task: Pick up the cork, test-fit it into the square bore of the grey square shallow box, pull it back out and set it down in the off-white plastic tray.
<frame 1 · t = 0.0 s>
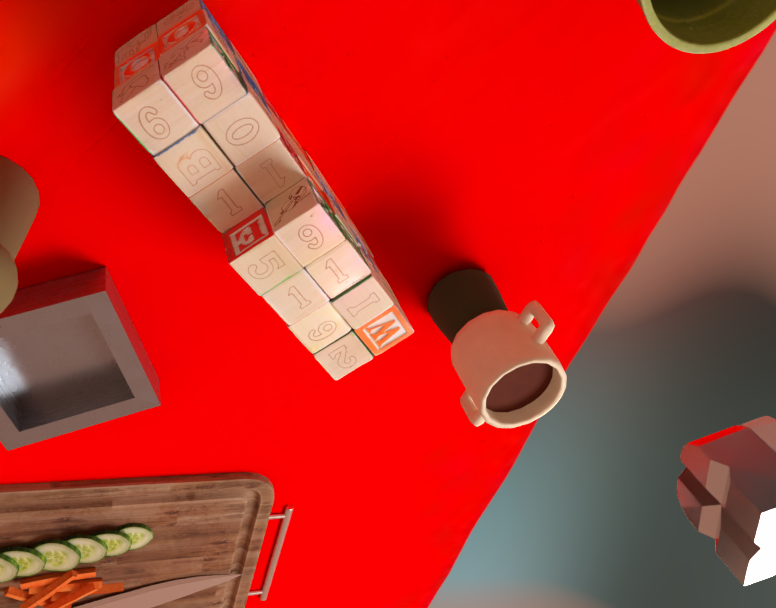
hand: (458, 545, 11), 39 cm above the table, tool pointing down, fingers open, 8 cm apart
grey square shallow box: (56, 348, 52), on the table
character mug: (457, 292, 61), on the table
stack of blocks: (255, 156, 48), on the table
chopping board: (51, 569, 68), on the table
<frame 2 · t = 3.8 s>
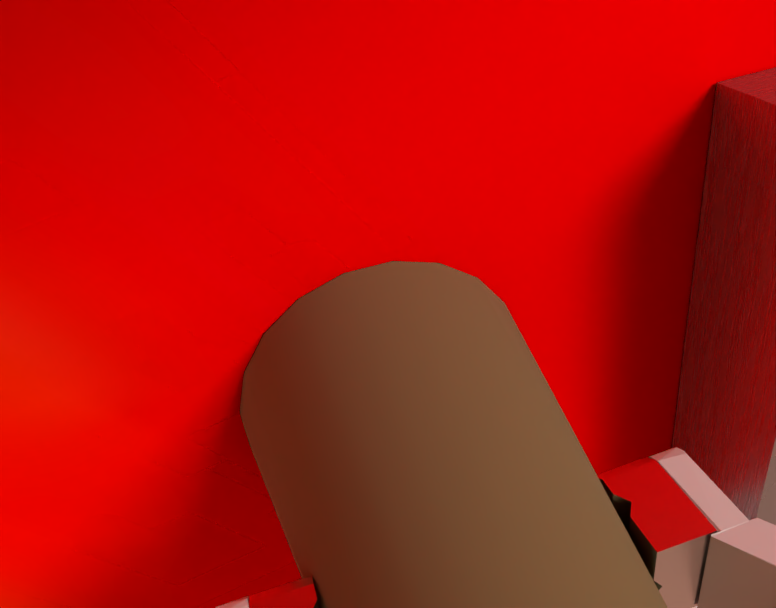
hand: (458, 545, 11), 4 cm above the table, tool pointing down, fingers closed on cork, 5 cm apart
cork: (383, 383, 15), on the table, touching gripper
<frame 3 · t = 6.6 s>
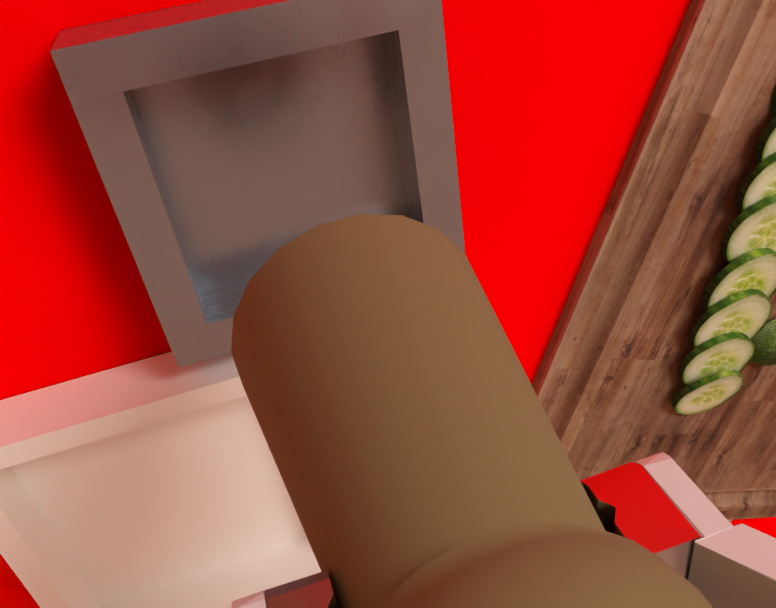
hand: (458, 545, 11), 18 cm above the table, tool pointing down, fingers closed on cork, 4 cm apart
tray: (183, 477, 33), on the table
grey square shallow box: (281, 158, 26), on the table
cork: (359, 327, 17), point 12 cm above the table, touching gripper
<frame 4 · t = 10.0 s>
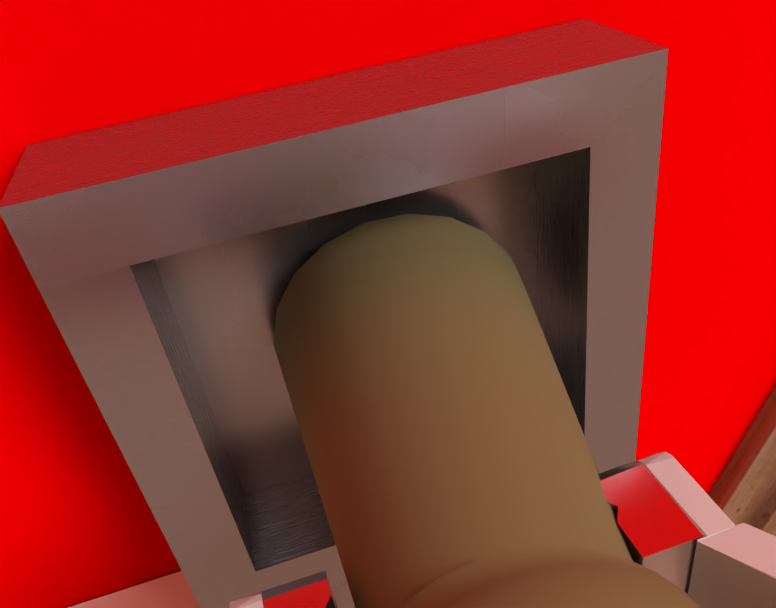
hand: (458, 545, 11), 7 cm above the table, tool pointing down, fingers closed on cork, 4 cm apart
grey square shallow box: (368, 311, 17), on the table
cork: (401, 325, 16), point 1 cm above the table, touching gripper
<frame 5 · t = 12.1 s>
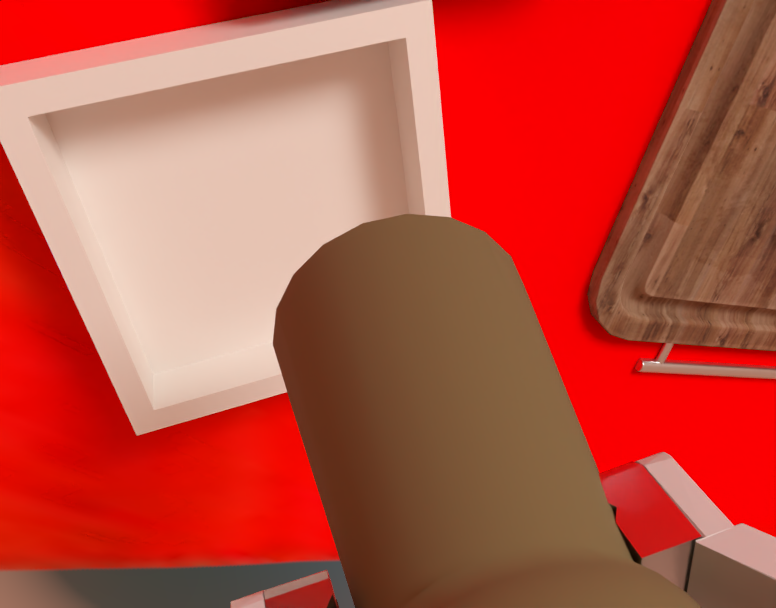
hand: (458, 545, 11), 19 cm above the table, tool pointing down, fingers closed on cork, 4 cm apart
tray: (257, 208, 28), on the table
cork: (401, 326, 16), point 13 cm above the table, touching gripper
when the fingers open (7 cm above the table, at t = 15.2 s): cork stays where it is, resting on tray.
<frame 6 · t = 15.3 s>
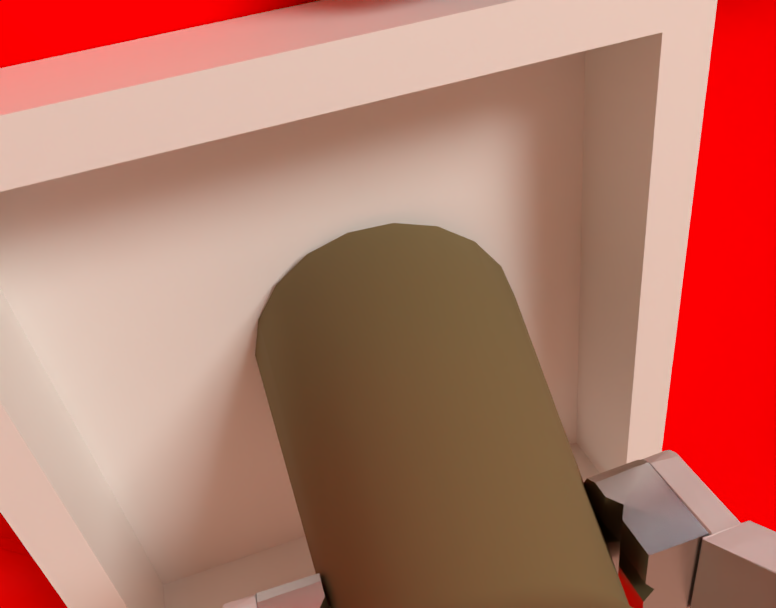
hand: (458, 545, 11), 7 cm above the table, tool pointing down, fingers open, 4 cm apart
tray: (336, 325, 16), on the table
cork: (388, 336, 16), point 1 cm above the table, touching gripper, tray
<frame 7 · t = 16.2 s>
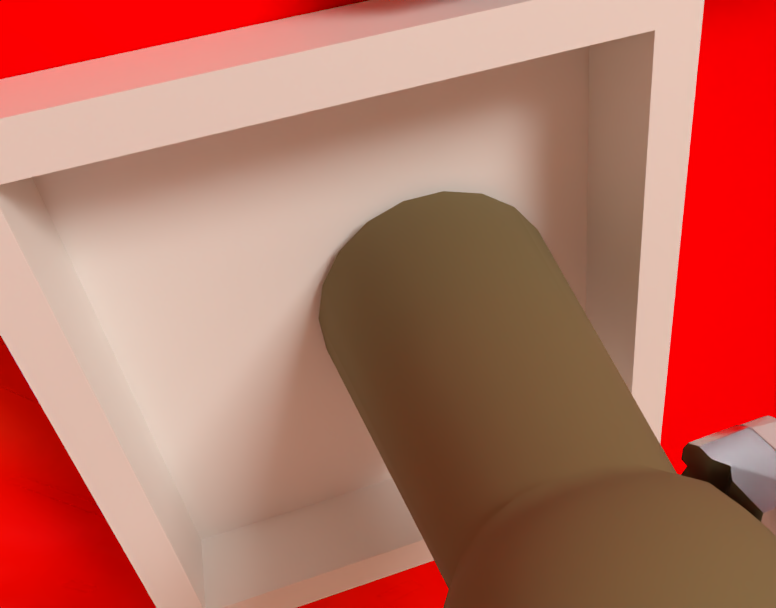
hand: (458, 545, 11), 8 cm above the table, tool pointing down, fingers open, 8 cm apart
tray: (362, 299, 18), on the table
cork: (436, 299, 18), point 1 cm above the table, touching gripper
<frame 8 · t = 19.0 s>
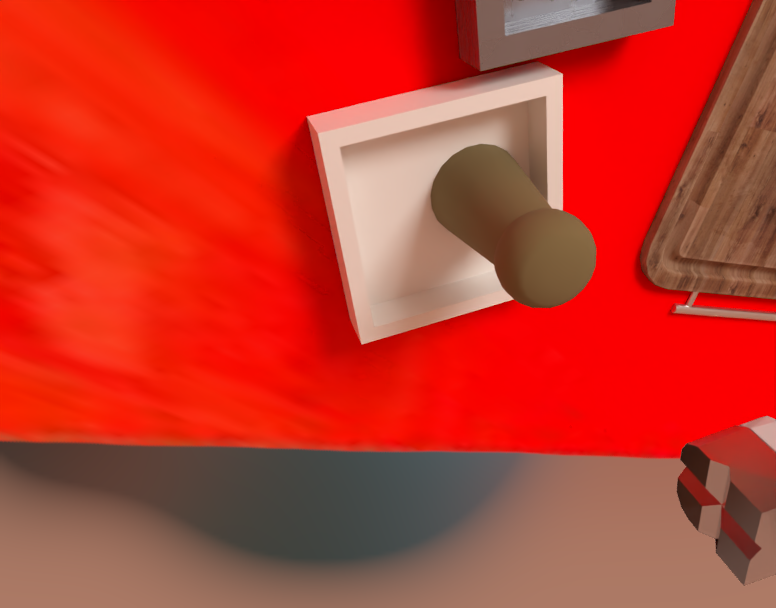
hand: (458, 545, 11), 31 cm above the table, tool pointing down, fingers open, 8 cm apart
tray: (437, 198, 44), on the table
cork: (474, 189, 44), resting on tray
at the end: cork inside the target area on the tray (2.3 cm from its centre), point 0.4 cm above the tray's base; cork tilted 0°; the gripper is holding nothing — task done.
